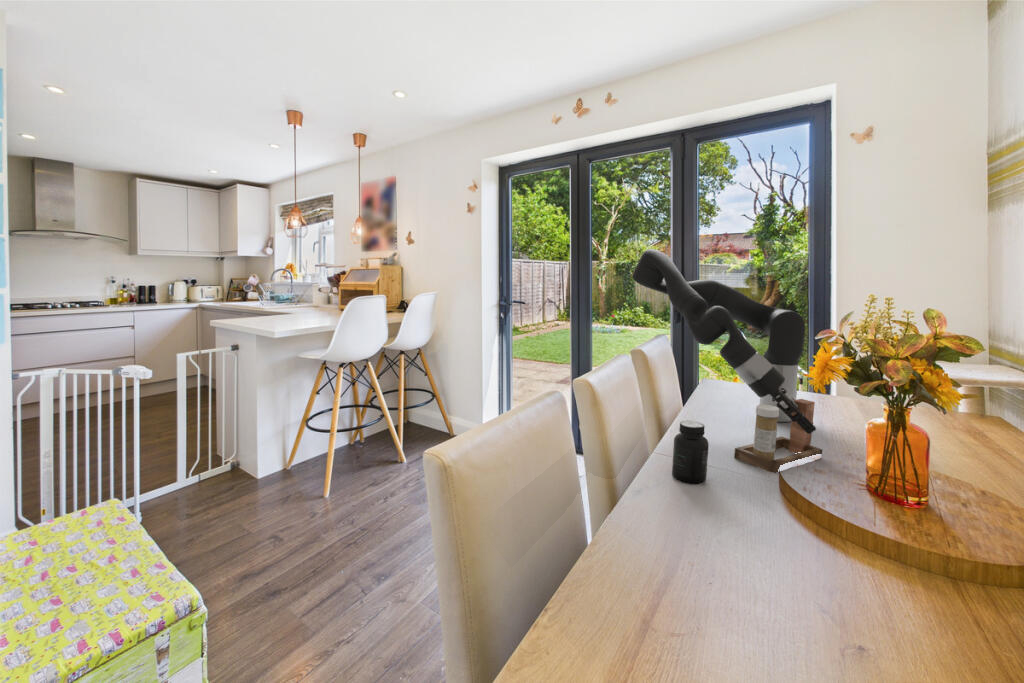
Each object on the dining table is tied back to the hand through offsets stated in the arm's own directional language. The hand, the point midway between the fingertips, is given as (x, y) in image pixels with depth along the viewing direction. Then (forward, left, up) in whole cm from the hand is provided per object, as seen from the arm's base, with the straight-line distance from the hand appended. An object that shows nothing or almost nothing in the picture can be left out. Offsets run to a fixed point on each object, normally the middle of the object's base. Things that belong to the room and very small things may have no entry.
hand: (811, 428), depth 108 cm
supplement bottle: (+37, -4, -7) cm, 38 cm away
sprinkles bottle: (+15, -2, -7) cm, 17 cm away
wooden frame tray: (+9, -2, -7) cm, 12 cm away
